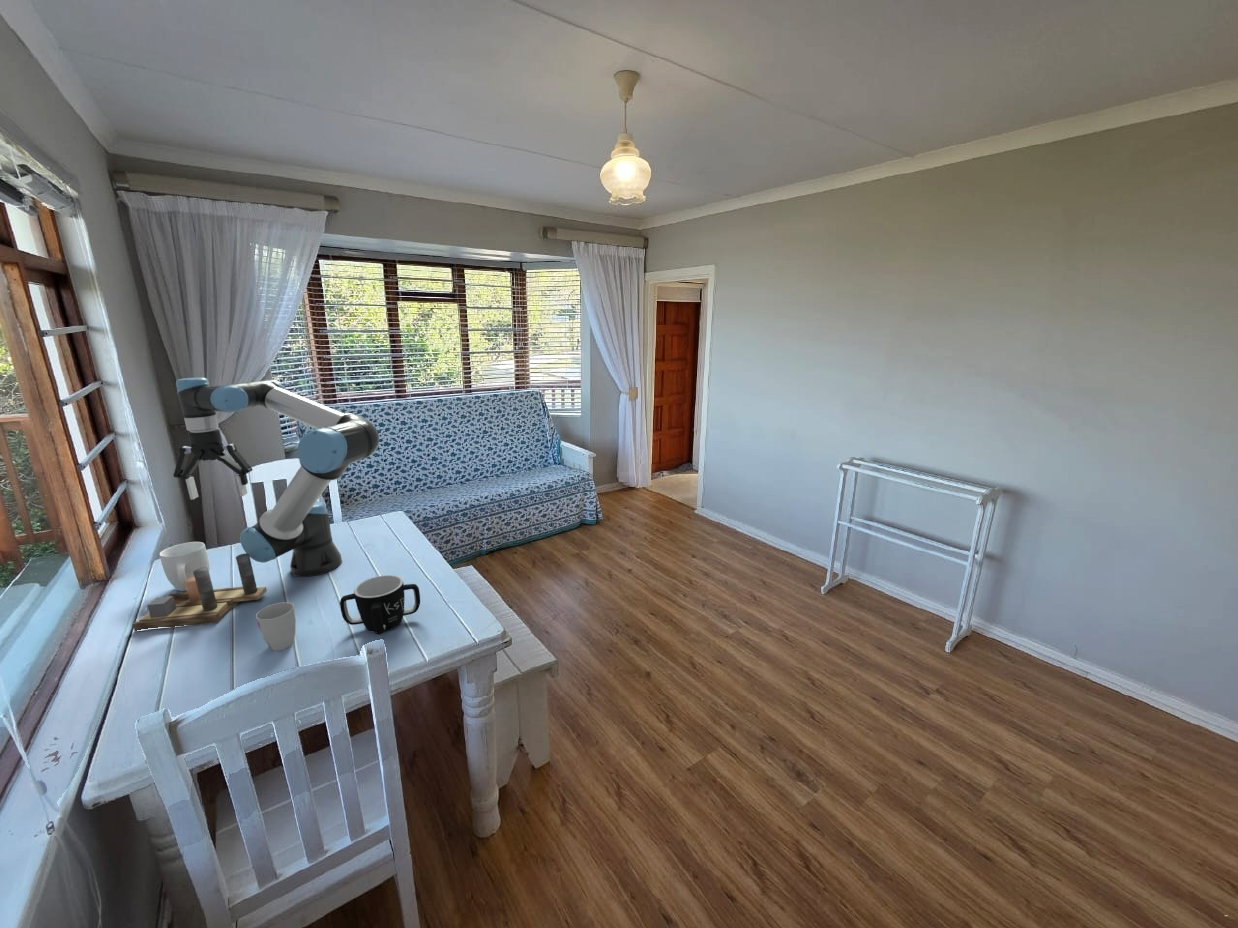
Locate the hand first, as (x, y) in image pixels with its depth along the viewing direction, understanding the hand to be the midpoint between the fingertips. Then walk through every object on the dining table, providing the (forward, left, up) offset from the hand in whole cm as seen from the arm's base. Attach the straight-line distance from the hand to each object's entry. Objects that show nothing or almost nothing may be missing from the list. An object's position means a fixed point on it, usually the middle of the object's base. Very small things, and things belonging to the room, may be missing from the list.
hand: (219, 496), depth 156 cm
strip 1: (+3, +23, -28) cm, 36 cm away
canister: (+3, +15, -26) cm, 30 cm away
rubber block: (+8, +23, -26) cm, 36 cm away
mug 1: (+12, +3, -29) cm, 31 cm away
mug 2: (-53, +38, -29) cm, 71 cm away
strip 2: (-4, +15, -28) cm, 32 cm away
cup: (-29, +42, -29) cm, 59 cm away
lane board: (+3, +19, -29) cm, 35 cm away
